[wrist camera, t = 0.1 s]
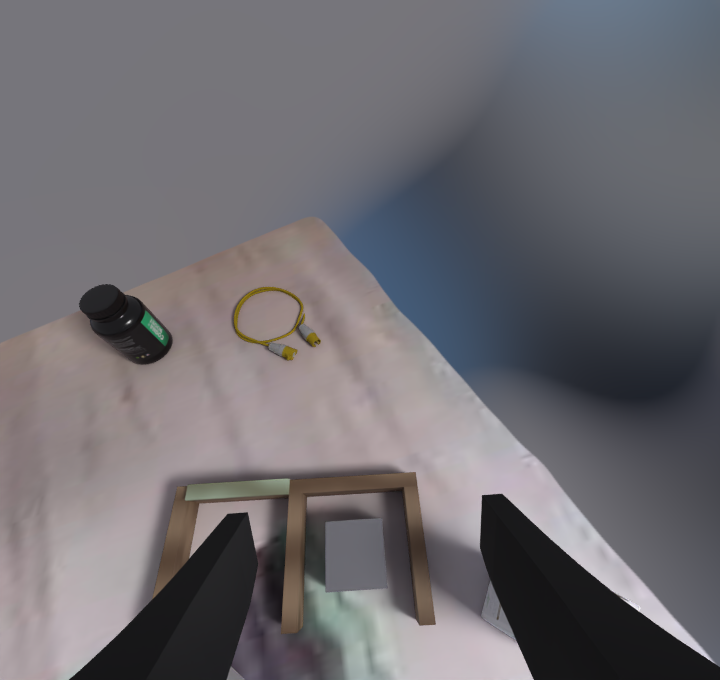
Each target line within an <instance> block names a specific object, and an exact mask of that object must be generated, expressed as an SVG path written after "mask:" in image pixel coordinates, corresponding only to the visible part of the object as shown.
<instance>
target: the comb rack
mask: <svg viewBox="0 0 720 680" xmlns="http://www.w3.org/2000/svg"><path fill="white" fill-rule="evenodd" d="M395 491H402V494H403V503H404V512H405V521H406V530H407V539H408V548H409V558H410V567H411V576H412V585H413V594H414V603H415V613H416V620H417V622H418V624H419V625H420V626H421V625H436V623H435V615H434V608H433V600H432V593H431V585H430V577H429V570H428V562H427V555H426V547H425V540H424V532H423V525H422V517H421V510H420V502H419V494H418V487H417V479H416V472H410V473H394V474H378V475H361V476H345V477H329V478H312V479H296V480H290V479H289V478H288V479H272V480H255V481H239V482H223V483H206V484H190V485H188V486H182V487H177V491H176V495H175V499H174V504H173V508H172V513H171V517H170V522H169V526H168V531H167V535H166V540H165V544H164V549H163V553H162V558H161V562H160V567H159V571H158V576H157V580H156V585H155V589H154V593H153V598H154V597H155V596H156V595H157V594H158V593H159V592H160V591H161V590H162V589H163V588H164V587H165V585H166V584H167V583H168V582H169V581H170V580H171V579H172V578H173V577H174V575H175V574H176V573H177V572H178V571H179V570H180V569H181V568H182V566H183V565H184V564H185V563H186V562H187V561H188V560H189V555H190V550H191V544H192V539H193V534H194V528H195V523H196V518H197V512H198V507H199V503H215V502H231V501H248V500H264V499H280V498H289V503H288V520H287V538H286V555H285V573H284V590H283V608H282V625H281V634H287V633H297V632H298V631H299V630H300V629H301V628H302V627H303V604H304V571H305V539H306V507H307V497H313V496H330V495H346V494H362V493H379V492H395ZM153 598H152V599H153Z"/></svg>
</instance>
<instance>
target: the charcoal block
mask: <svg viewBox="0 0 720 680" xmlns="http://www.w3.org/2000/svg"><path fill="white" fill-rule="evenodd" d="M325 564H326V592H339V591H353V590H368V589H383V588H388V586H387V574H386V562H385V550H384V537H383V525H382V518H374V519H359V520H344V521H330V522H325Z"/></svg>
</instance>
